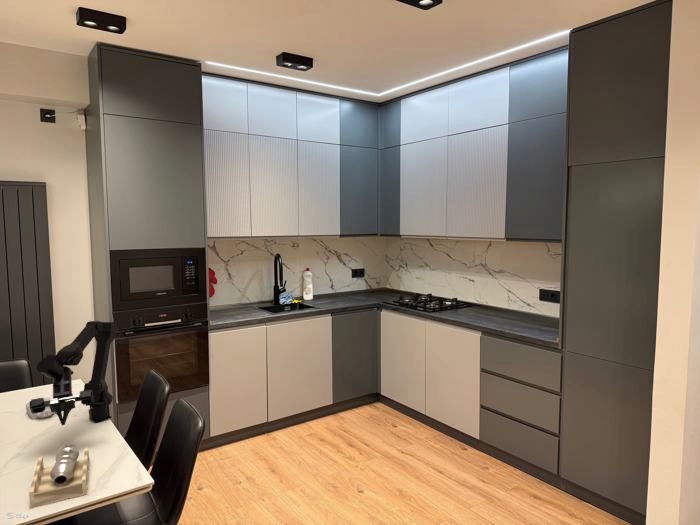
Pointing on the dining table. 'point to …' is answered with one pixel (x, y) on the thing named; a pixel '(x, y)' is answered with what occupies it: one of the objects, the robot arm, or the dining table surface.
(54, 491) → the tray
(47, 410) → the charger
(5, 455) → the dining table surface
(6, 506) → the dining table surface
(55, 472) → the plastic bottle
